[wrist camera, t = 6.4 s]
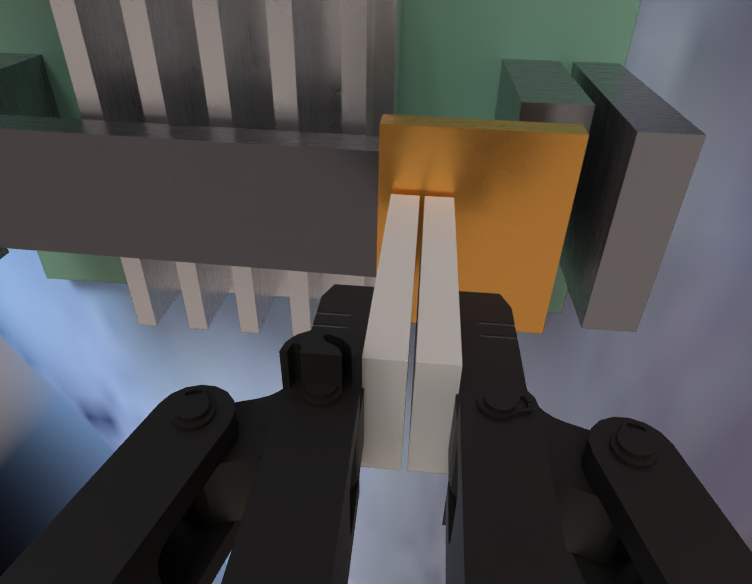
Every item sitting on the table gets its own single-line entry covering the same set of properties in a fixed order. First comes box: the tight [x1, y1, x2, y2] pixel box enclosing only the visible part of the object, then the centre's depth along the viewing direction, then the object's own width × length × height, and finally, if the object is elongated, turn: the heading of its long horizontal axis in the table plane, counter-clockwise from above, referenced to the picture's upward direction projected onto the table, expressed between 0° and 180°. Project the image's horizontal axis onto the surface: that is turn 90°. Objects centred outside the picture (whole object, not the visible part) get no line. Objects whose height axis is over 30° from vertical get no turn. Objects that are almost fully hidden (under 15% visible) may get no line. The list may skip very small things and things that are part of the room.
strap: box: [0, 114, 589, 334], centre depth 17 cm, size 6×21×2 cm, turn 89°
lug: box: [494, 59, 706, 332], centre depth 18 cm, size 6×4×8 cm
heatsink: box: [49, 0, 402, 336], centre depth 20 cm, size 12×10×6 cm
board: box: [0, 0, 641, 313], centre depth 23 cm, size 16×25×1 cm, turn 89°
